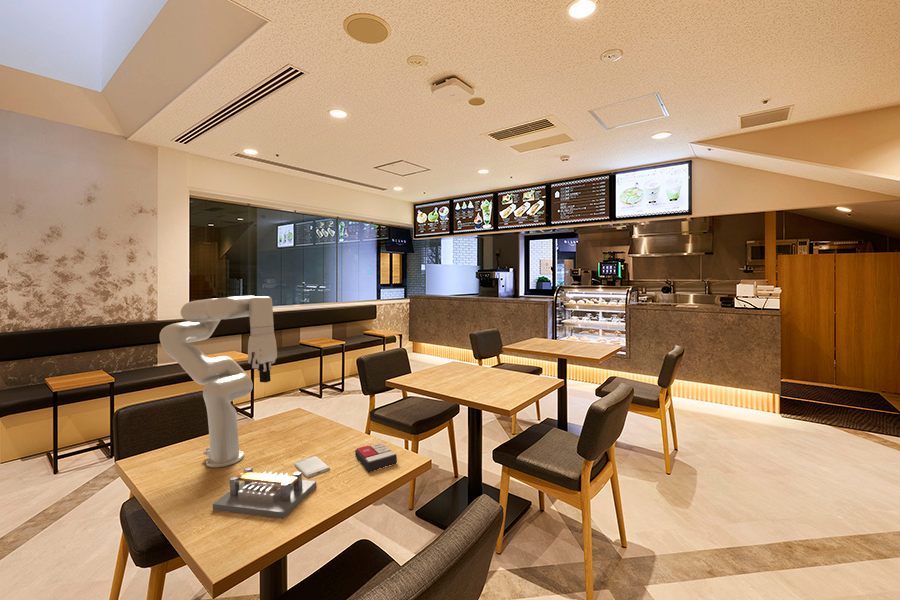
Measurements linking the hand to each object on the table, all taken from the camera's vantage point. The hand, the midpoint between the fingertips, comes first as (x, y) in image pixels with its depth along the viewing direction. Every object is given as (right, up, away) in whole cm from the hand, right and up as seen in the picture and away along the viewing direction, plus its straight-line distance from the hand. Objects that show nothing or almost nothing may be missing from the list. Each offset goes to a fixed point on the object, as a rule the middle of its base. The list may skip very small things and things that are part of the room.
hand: (265, 381), depth 138 cm
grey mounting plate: (+9, -33, -17) cm, 38 cm away
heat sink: (+9, -31, -17) cm, 37 cm away
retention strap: (+9, -27, -18) cm, 34 cm away
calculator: (+39, -31, +6) cm, 50 cm away
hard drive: (+16, -32, +2) cm, 36 cm away
